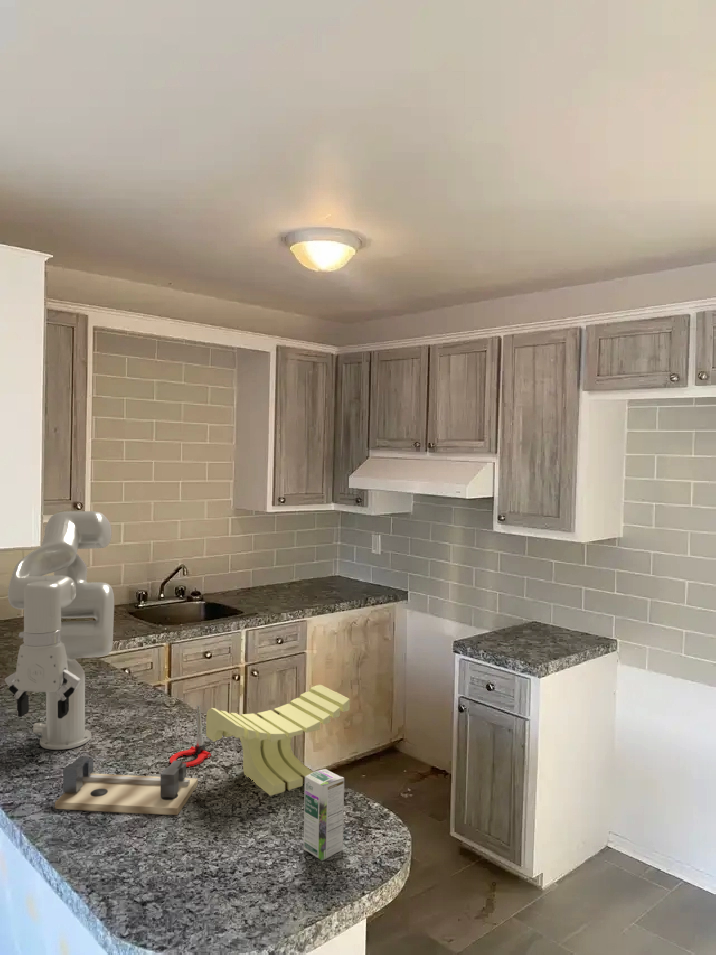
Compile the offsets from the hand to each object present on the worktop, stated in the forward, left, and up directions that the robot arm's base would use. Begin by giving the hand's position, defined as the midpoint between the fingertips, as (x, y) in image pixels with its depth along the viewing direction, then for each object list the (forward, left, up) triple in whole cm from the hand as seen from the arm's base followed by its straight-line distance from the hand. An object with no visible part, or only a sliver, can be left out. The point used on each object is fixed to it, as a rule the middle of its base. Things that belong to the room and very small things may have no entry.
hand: (43, 715), depth 159 cm
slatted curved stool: (+50, +16, -19) cm, 56 cm away
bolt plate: (+19, +2, -18) cm, 26 cm away
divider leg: (+7, +3, -16) cm, 18 cm away
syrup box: (+65, -15, -19) cm, 69 cm away
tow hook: (+26, +22, -19) cm, 39 cm away
